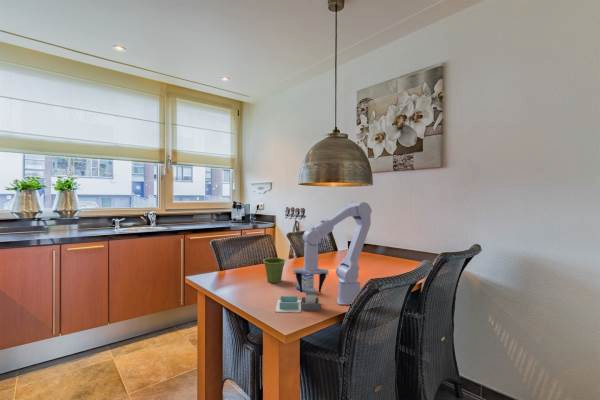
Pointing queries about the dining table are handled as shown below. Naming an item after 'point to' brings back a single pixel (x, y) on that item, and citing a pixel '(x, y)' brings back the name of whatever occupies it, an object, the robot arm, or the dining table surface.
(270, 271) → the plant pot
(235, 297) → the dining table surface
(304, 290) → the medicine box
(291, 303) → the port
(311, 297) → the plug
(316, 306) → the grey arch stand
